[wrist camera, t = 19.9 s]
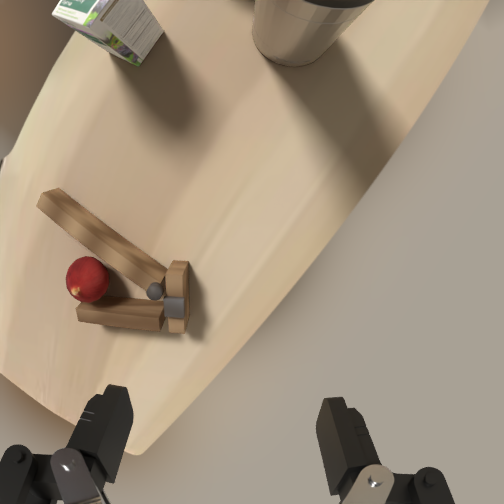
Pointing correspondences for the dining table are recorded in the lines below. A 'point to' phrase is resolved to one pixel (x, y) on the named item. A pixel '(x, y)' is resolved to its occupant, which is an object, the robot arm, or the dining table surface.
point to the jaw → (104, 241)
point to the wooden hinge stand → (145, 306)
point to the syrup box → (113, 25)
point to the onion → (87, 279)
